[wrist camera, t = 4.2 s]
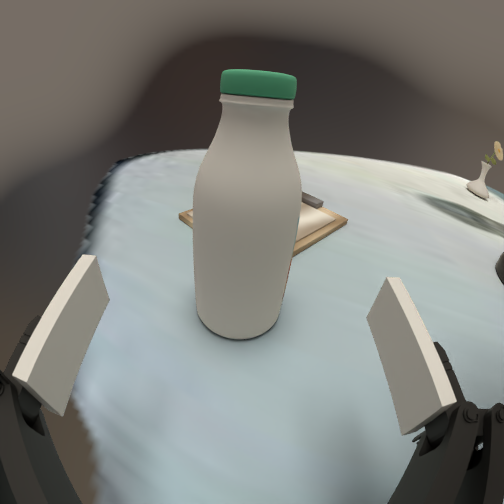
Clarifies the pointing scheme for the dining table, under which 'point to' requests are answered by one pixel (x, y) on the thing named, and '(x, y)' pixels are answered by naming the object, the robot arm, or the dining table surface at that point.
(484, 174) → the flower in vase
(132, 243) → the dining table surface
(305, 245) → the clipboard
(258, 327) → the milk bottle
